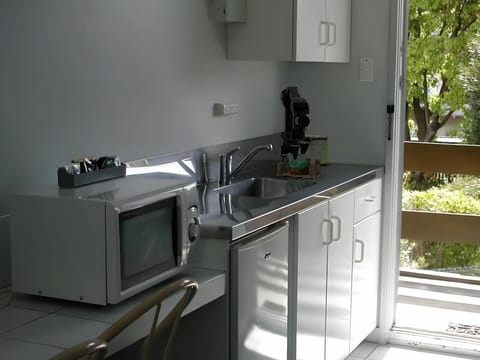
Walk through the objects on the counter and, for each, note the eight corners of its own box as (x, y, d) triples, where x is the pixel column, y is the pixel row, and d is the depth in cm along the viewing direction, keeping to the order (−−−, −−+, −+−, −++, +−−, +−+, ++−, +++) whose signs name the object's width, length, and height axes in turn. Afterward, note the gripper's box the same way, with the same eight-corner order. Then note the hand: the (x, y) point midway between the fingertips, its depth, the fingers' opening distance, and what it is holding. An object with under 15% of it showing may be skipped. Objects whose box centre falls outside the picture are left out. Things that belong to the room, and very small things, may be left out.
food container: (282, 174, 350) (283, 153, 349) (288, 172, 356) (288, 152, 354) (306, 175, 345) (306, 154, 343) (311, 174, 350) (311, 153, 348)
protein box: (317, 162, 401) (317, 134, 399) (327, 166, 387) (328, 137, 384) (299, 163, 399) (299, 135, 396) (309, 167, 384) (309, 137, 381)
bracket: (285, 173, 360) (285, 157, 359) (321, 175, 351) (321, 159, 350) (276, 176, 351) (276, 159, 350) (312, 178, 342) (313, 161, 341)
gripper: (291, 124, 359) (291, 155, 362) (275, 126, 343) (275, 159, 346) (312, 125, 354) (312, 157, 357) (297, 127, 338) (296, 161, 340)
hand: (298, 158), depth 350 cm, fingers open, 9 cm apart
